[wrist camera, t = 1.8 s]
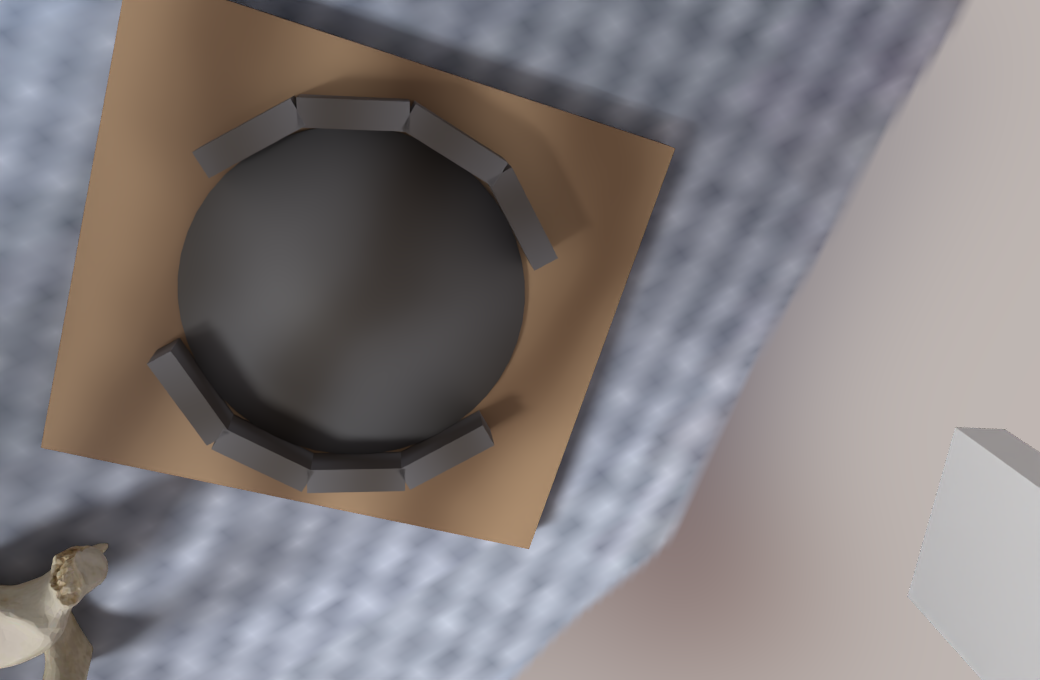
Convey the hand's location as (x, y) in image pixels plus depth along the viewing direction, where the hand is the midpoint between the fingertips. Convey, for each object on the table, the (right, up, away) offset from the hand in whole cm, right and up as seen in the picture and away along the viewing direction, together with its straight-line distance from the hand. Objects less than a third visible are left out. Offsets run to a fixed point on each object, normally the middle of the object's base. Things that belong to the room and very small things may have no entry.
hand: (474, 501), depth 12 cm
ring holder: (-6, +4, +24) cm, 25 cm away
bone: (-19, -8, +26) cm, 34 cm away
